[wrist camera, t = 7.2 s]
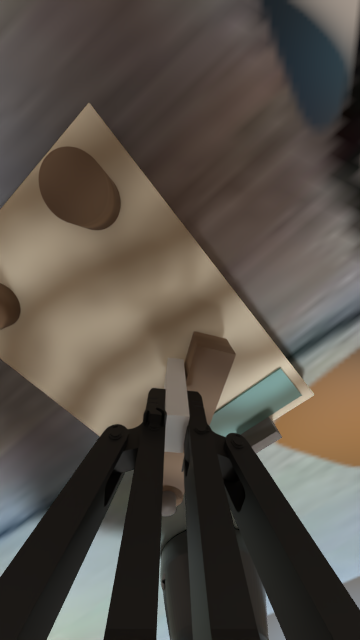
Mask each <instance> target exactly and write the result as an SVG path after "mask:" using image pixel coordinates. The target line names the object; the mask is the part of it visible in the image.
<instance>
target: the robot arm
mask: <svg viewBox="0 0 360 640" xmlns="http://www.w3.org/2000/svg"><path fill="white" fill-rule="evenodd" d="M183 449H184V459H183V464H182V470H181V472H183V470H184V488H185V506H186V524H187V531H185V532H183V533H181V534H179V535H177V536H175V537H174V538H173V539H171V540H170V541H169V542H168V543H167V544H166V546H165V547H164V549H163V551H162V555H161V573H160V577H161V586H162V589H163V595H164V603H165V611H166V617H167V623H168V630H169V636H170V640H269V638H268V624H267V609H266V594H267V596H268V598H269V601H270V603H271V605H272V608H273V610H274V612H275V615H276V617H277V619H278V622H279V624H280V627H281V629H282V631H283V633H284V636H285V638H286V640H360V610H359V608H358V607H357V605H356V604H355V602H354V601H353V599H352V598H351V597H350V595H349V593H348V592H347V590H346V589H345V587H344V586H343V584H342V583H341V581H340V580H339V578H338V577H337V575H336V574H335V572H334V571H333V569H332V568H331V566H330V565H329V563H328V561H327V560H326V558H325V557H324V555H323V554H322V552H321V551H320V549H319V548H318V546H317V545H316V543H315V542H314V540H313V539H312V537H311V536H310V534H309V533H308V531H307V530H306V528H305V527H304V525H303V524H302V522H301V521H300V519H299V518H298V516H297V515H296V513H295V512H294V510H293V509H292V507H291V506H290V504H289V503H288V501H287V500H286V498H285V497H284V495H283V494H282V492H281V491H280V489H279V488H278V486H277V485H276V483H275V482H274V480H273V479H272V477H271V476H270V474H269V473H268V471H267V470H266V468H265V467H264V465H263V464H262V462H261V461H260V459H259V458H258V456H257V455H256V453H255V452H254V450H253V449H252V447H251V446H250V444H249V443H248V441H247V440H246V439H245V438H244V437H243V436H242V435H240V434H237V433H229V434H228V435H227V436H226V437H224V436H221V435H219V434H217V433H215V432H213V431H212V430H211V427H210V426H209V425H208V424H207V420H206V415H205V410H204V405H203V401H202V396H201V395H200V394H199V392H197V391H187V387H186V378H185V369H184V360H183V359H176V358H168V360H167V368H166V375H165V383H164V389H160V388H152V389H151V390H150V391H149V393H148V398H147V404H146V410H145V411H144V414H143V422H142V423H141V424H140V425H139V426H137V427H135V428H132V429H127V428H126V427H125V426H123V425H120V424H115V425H111V426H109V427H107V428H106V429H105V430H104V432H103V433H102V435H101V436H100V437H99V439H98V440H97V442H96V443H95V444H94V446H93V447H92V449H91V450H90V451H89V453H88V454H87V456H86V457H85V459H84V460H83V461H82V463H81V464H80V466H79V467H78V468H77V470H76V471H75V473H74V474H73V475H72V477H71V478H70V480H69V481H68V483H67V484H66V485H65V487H64V488H63V490H62V491H61V492H60V494H59V495H58V497H57V498H56V499H55V501H54V502H53V504H52V505H51V506H50V508H49V509H48V511H47V512H46V514H45V515H44V516H43V518H42V519H41V521H40V522H39V523H38V525H37V526H36V528H35V529H34V530H33V532H32V533H31V535H30V536H29V537H28V539H27V540H26V542H25V543H24V545H23V546H22V547H21V549H20V550H19V552H18V553H17V554H16V556H15V557H14V559H13V560H12V561H11V563H10V564H9V566H8V567H7V568H6V570H5V571H4V573H3V574H2V576H1V577H0V640H47V637H48V635H49V633H50V631H51V629H52V627H53V625H54V623H55V620H56V618H57V616H58V614H59V612H60V610H61V608H62V605H63V603H64V601H65V599H66V597H67V595H68V593H69V591H70V588H71V586H72V584H73V582H74V580H75V578H76V576H77V574H78V571H79V569H80V567H81V565H82V563H83V561H84V559H85V557H86V554H87V552H88V550H89V548H90V546H91V544H92V542H93V539H94V537H95V535H96V533H97V531H98V529H99V527H100V525H101V522H102V520H103V518H104V516H105V514H106V512H107V510H108V508H109V505H110V503H111V501H112V499H113V497H114V495H115V493H116V490H117V488H118V486H119V484H120V482H121V480H122V478H123V476H124V473H125V472H126V471H130V470H133V469H134V474H133V480H132V485H131V491H130V496H129V502H128V507H127V513H126V519H125V524H124V530H123V535H122V541H121V546H120V552H119V557H118V563H117V568H116V574H115V580H114V585H113V591H112V596H111V602H110V607H109V613H108V618H107V624H106V629H105V635H104V640H156V633H157V609H158V586H159V563H160V541H161V518H162V495H163V472H164V452H176V453H183ZM230 509H231V512H232V514H233V516H234V519H235V521H236V523H237V526H238V528H239V530H237V529H234V525H233V520H232V516H231V512H230ZM265 591H266V593H265Z"/></svg>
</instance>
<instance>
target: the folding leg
mask: <svg viewBox="0 0 360 640" xmlns="http://www.w3.org/2000/svg"><path fill="white" fill-rule="evenodd" d="M235 356H236V353H235V352H234V350H233V349H232V347H231V345H230V344H229V342H228V340H227V339H226V338H221V337H217V336H213V335H209V334H204V333H200V332H196V331H194V332H193V335H192V338H191V342H190V345H189V349H188V352H187V355H186V359H185V362H184V369H185V378H186V387H187V391H197V392H199V394H200V395H201V396H202V401H203V405H204V410H205V415H206V420H207V424H208V425H209V426H210V423H211V421H212V418H213V415H214V413H215V410H216V407H217V404H218V402H219V399H220V396H221V394H222V391H223V388H224V386H225V383H226V380H227V378H228V375H229V372H230V370H231V367H232V364H233V362H234V359H235ZM183 459H184V449H183V453H176V452H164V472H163V495H162V516H171V515H173V514H174V513H175V512H176V506H178V505H179V504H180V503H181V502H182V501H183V496H184V493H185V488H184V470H183V472H181V470H182V464H183Z"/></svg>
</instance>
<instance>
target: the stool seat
mask: <svg viewBox="0 0 360 640" xmlns="http://www.w3.org/2000/svg"><path fill="white" fill-rule="evenodd" d="M194 331H196V332H200V333H204V334H209V335H213V336H217V337H221V338H226V339H227V340H228V342H229V344H230V345H231V347H232V349H233V350H234V352H235V353H236V356H235V359H234V362H233V364H232V367H231V370H230V372H229V375H228V378H227V380H226V383H225V386H224V388H223V391H222V394H221V396H220V399H219V402H218V404H217V407H216V410H215V413H214V415H213V418H212V421H211V423H210V427H211V430H212V431H213V432H215V433H217V434H219V435H221V436H224V437H226V436H227V435H228V434H229V433H237V434H240V435H242V436H243V437H244V438H245V439H246V440H247V441H248V443H249V444H250V446H251V447H252V449H253V450H254V452H255V453H257V452H259V451H261V450H262V449H264V448H266V447H267V446H269V445H270V444H272V443H274V442H275V441H277V440H279V439H280V438H282V437H281V435H280V433H279V431H278V429H277V428H276V426H275V424H274V423H273V421H274V420H275V419H277V418H278V417H280V416H282V415H283V414H285V413H286V412H288V411H290V410H291V409H293V408H294V407H296V406H297V405H299V404H301V403H302V402H304V401H305V400H307V399H309V398H310V397H312V396H313V395H314V393H313V392H312V391H311V390H310V388H309V387H308V386H307V384H306V383H305V382H304V380H303V379H302V378H301V377H300V375H299V374H298V373H297V371H296V370H295V369H294V367H293V366H292V365H291V364H290V362H289V361H288V360H287V358H286V357H285V356H284V355H283V353H282V352H281V351H280V349H279V348H278V347H277V345H276V344H275V343H274V342H273V340H272V339H271V338H270V336H269V335H268V334H267V333H266V331H265V330H264V329H263V327H262V326H261V325H260V323H259V322H258V321H257V320H256V318H255V317H254V316H253V314H252V313H251V312H250V310H249V309H248V308H247V307H246V305H245V304H244V303H243V301H242V300H241V299H240V298H239V296H238V295H237V294H236V292H235V291H234V290H233V288H232V287H231V286H230V285H229V283H228V282H227V281H226V279H225V278H224V277H223V275H222V274H221V273H220V272H219V270H218V269H217V268H216V266H215V265H214V264H213V263H212V261H211V260H210V259H209V257H208V256H207V255H206V253H205V252H204V251H203V250H202V248H201V247H200V246H199V244H198V243H197V242H196V241H195V239H194V238H193V237H192V235H191V234H190V233H189V231H188V230H187V229H186V228H185V226H184V225H183V224H182V222H181V221H180V220H179V218H178V217H177V216H176V215H175V213H174V212H173V211H172V209H171V208H170V207H169V206H168V204H167V203H166V202H165V200H164V199H163V198H162V196H161V195H160V194H159V193H158V191H157V190H156V189H155V187H154V186H153V185H152V183H151V182H150V181H149V180H148V178H147V177H146V176H145V174H144V173H143V172H142V171H141V169H140V168H139V167H138V165H137V164H136V163H135V161H134V160H133V159H132V158H131V156H130V155H129V154H128V152H127V151H126V150H125V149H124V147H123V146H122V145H121V143H120V142H119V141H118V139H117V138H116V137H115V136H114V134H113V133H112V132H111V130H110V129H109V128H108V126H107V125H106V124H105V123H104V121H103V120H102V119H101V117H100V116H99V115H98V114H97V112H96V111H95V110H94V108H93V107H92V106H91V104H90V103H88V104H87V105H86V107H85V108H84V109H83V110H82V112H81V113H80V114H79V115H78V116H77V118H76V119H75V120H74V121H73V122H72V124H71V125H70V126H69V127H68V128H67V130H66V131H65V132H64V133H63V134H62V136H61V137H60V138H59V139H58V140H57V142H56V143H55V144H54V145H53V147H52V148H51V149H50V150H49V151H48V153H47V154H46V155H45V156H44V157H43V159H42V160H41V161H40V162H39V163H38V165H37V166H36V167H35V168H34V169H33V171H32V172H31V173H30V174H29V176H28V177H27V178H26V179H25V180H24V182H23V183H22V184H21V185H20V186H19V188H18V189H17V190H16V191H15V192H14V194H13V195H12V196H11V197H10V198H9V200H8V201H7V202H6V203H5V204H4V206H3V207H2V208H1V209H0V359H2V360H3V361H4V362H5V363H7V364H8V365H9V366H11V367H12V368H13V369H14V370H16V371H17V372H18V373H19V374H21V375H22V376H23V377H25V378H26V379H27V380H28V381H30V382H31V383H32V384H33V385H35V386H36V387H37V388H39V389H40V390H41V391H42V392H44V393H45V394H46V395H48V396H49V397H50V398H51V399H53V400H54V401H55V402H56V403H58V404H59V405H60V406H62V407H63V408H64V409H65V410H67V411H68V412H69V413H71V414H72V415H73V416H74V417H76V418H77V419H78V420H79V421H81V422H82V423H83V424H85V425H86V426H87V427H88V428H90V429H91V430H92V431H93V432H95V433H96V434H97V435H99V436H101V435H102V433H103V432H104V430H105V429H106V428H107V427H109V426H111V425H115V424H120V425H123V426H125V427H126V428H127V429H132V428H135V427H137V426H139V425H140V424H141V423H142V422H143V414H144V411H145V410H146V404H147V398H148V393H149V391H150V390H151V389H152V388H160V389H164V383H165V375H166V368H167V360H168V358H176V359H183V360H184V362H185V359H186V355H187V352H188V349H189V345H190V342H191V338H192V335H193V332H194Z"/></svg>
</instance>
